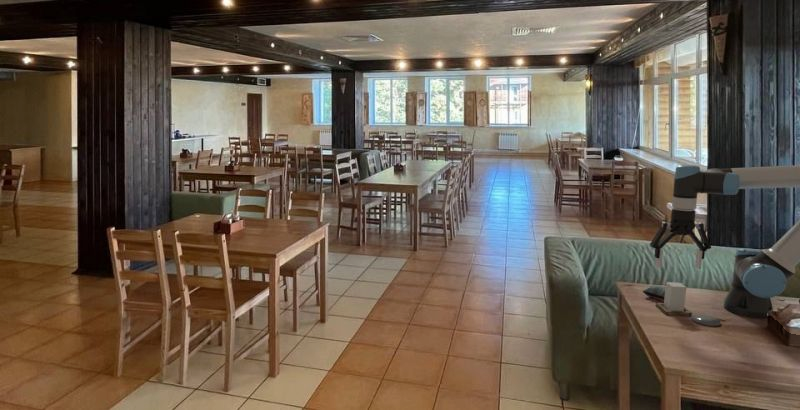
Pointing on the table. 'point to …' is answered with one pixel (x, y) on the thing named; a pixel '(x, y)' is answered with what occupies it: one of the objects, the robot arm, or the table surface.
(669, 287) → the grey block
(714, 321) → the grey disc
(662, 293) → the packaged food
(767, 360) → the table surface
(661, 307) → the walnut holder
